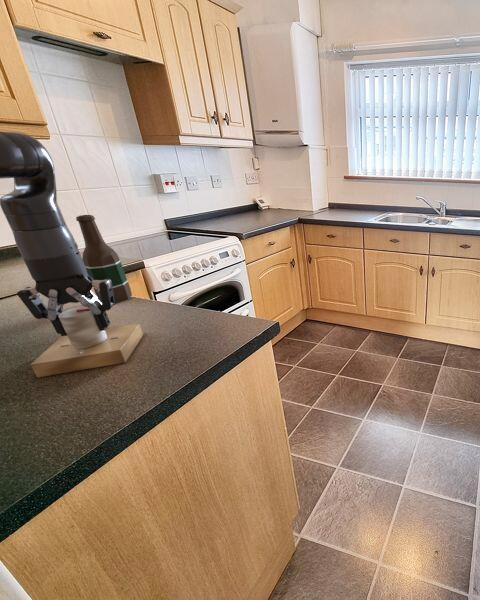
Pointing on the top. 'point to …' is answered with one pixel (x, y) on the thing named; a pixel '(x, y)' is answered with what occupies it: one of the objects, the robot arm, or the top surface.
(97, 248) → the beer bottle
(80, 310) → the white short cylinder
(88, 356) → the wooden board
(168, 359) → the top surface
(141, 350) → the top surface
